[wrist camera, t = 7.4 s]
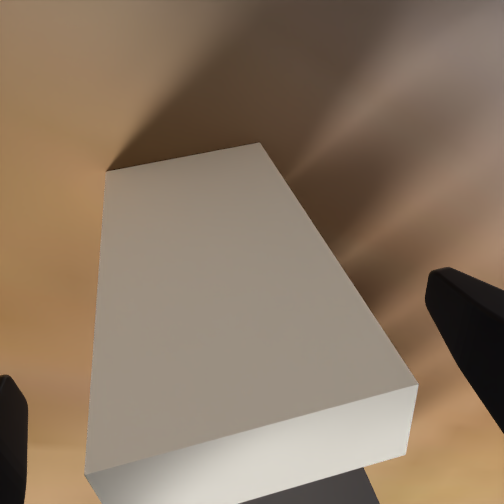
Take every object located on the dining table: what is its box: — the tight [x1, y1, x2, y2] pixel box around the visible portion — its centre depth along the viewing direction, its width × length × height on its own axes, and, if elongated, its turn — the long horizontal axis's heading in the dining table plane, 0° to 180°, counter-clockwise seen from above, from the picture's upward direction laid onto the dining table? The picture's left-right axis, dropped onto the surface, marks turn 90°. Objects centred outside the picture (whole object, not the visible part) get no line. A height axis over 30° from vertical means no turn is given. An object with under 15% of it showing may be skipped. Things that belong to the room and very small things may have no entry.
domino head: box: [84, 142, 419, 504], centre depth 11 cm, size 2×5×10 cm, turn 96°
